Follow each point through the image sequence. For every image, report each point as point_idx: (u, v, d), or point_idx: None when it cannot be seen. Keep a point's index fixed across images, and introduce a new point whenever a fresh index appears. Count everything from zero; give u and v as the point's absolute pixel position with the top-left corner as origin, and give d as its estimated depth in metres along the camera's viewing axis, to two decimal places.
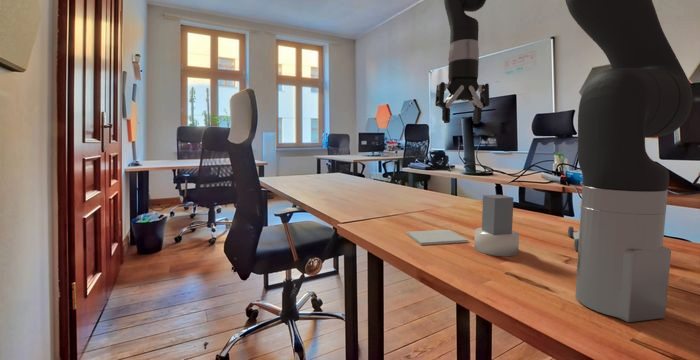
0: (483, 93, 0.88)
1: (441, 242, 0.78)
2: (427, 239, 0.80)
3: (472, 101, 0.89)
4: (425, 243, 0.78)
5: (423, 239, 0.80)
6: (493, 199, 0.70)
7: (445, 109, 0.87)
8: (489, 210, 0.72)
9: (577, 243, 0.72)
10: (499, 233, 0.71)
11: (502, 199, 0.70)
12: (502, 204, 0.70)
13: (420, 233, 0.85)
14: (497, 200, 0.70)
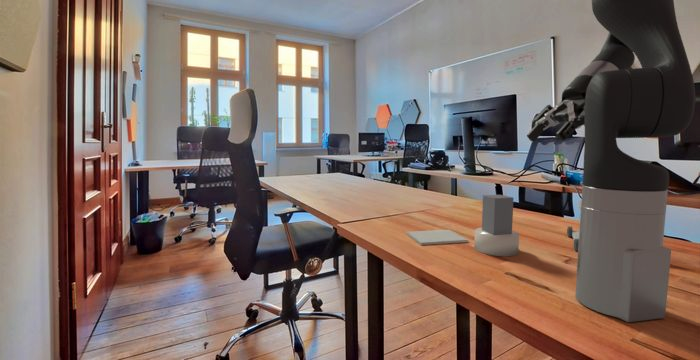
0: None
1: (441, 242, 0.78)
2: (427, 239, 0.80)
3: None
4: (425, 243, 0.78)
5: (423, 239, 0.80)
6: (493, 199, 0.70)
7: (535, 126, 0.78)
8: (489, 210, 0.72)
9: (577, 243, 0.72)
10: (499, 233, 0.71)
11: (502, 199, 0.70)
12: (502, 204, 0.70)
13: (420, 233, 0.85)
14: (497, 200, 0.70)
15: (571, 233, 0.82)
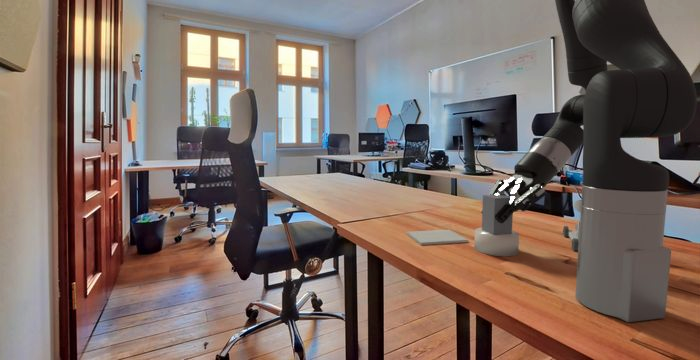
0: None
1: (441, 242, 0.78)
2: (427, 239, 0.80)
3: None
4: (425, 243, 0.78)
5: (423, 239, 0.80)
6: (493, 199, 0.70)
7: None
8: (489, 210, 0.72)
9: (575, 243, 0.72)
10: (499, 233, 0.71)
11: (502, 199, 0.70)
12: (502, 204, 0.70)
13: (420, 233, 0.85)
14: (497, 200, 0.70)
15: (567, 233, 0.83)
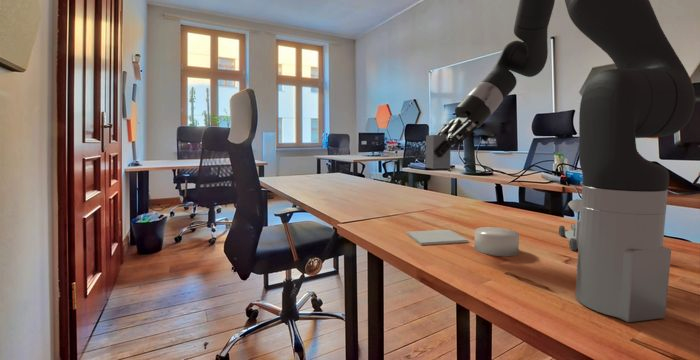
0: None
1: (441, 242, 0.78)
2: (427, 239, 0.80)
3: None
4: (425, 243, 0.78)
5: (423, 239, 0.80)
6: (432, 136, 0.79)
7: None
8: (430, 147, 0.80)
9: (573, 242, 0.72)
10: (438, 167, 0.79)
11: (440, 136, 0.79)
12: (440, 141, 0.79)
13: (420, 233, 0.85)
14: (436, 137, 0.78)
15: (564, 232, 0.83)
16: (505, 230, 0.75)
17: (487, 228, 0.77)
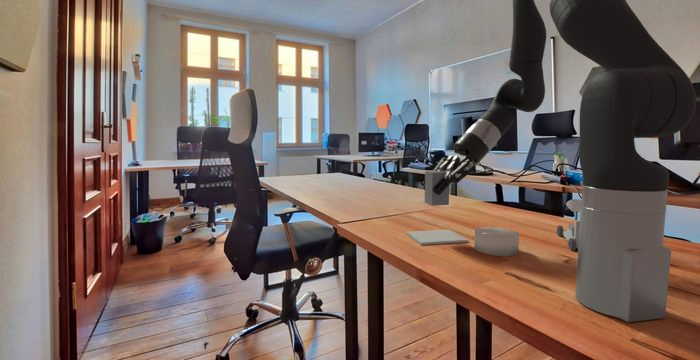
0: None
1: (441, 242, 0.78)
2: (427, 239, 0.80)
3: None
4: (425, 243, 0.78)
5: (423, 239, 0.80)
6: (431, 174, 0.80)
7: None
8: (429, 183, 0.81)
9: (572, 242, 0.72)
10: (437, 204, 0.80)
11: (439, 173, 0.80)
12: (439, 178, 0.80)
13: (420, 233, 0.85)
14: (434, 174, 0.79)
15: (562, 232, 0.83)
16: (505, 230, 0.75)
17: (487, 228, 0.77)
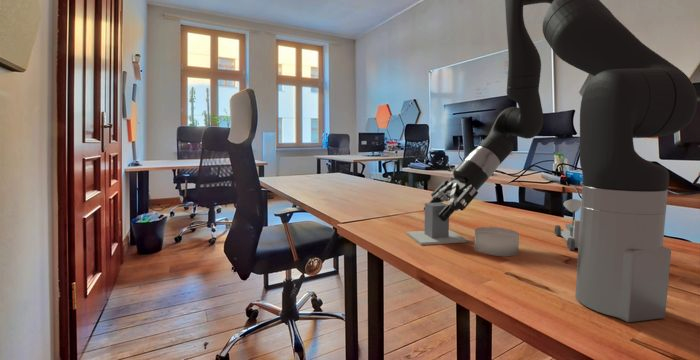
0: None
1: (441, 242, 0.78)
2: (427, 239, 0.80)
3: None
4: (425, 243, 0.78)
5: (423, 239, 0.80)
6: (431, 207, 0.80)
7: (432, 200, 0.88)
8: (429, 216, 0.82)
9: (571, 242, 0.72)
10: (437, 236, 0.81)
11: (439, 207, 0.80)
12: (439, 211, 0.80)
13: (420, 233, 0.85)
14: (435, 208, 0.80)
15: (560, 232, 0.84)
16: (505, 230, 0.75)
17: (487, 228, 0.77)
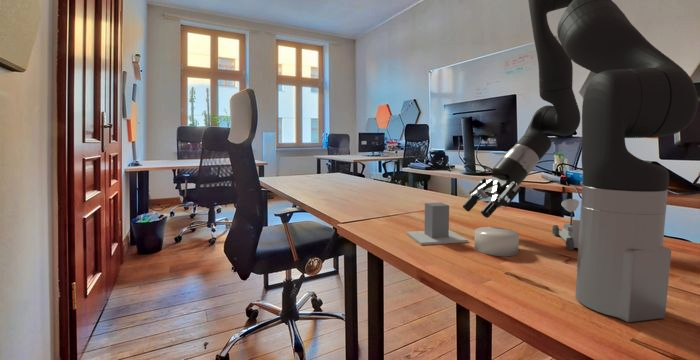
0: None
1: (441, 242, 0.78)
2: (427, 239, 0.80)
3: None
4: (425, 243, 0.78)
5: (423, 239, 0.80)
6: (431, 207, 0.80)
7: None
8: (429, 216, 0.82)
9: (570, 242, 0.72)
10: (437, 236, 0.81)
11: (439, 207, 0.80)
12: (439, 211, 0.80)
13: (420, 233, 0.85)
14: (435, 208, 0.80)
15: (558, 231, 0.84)
16: (505, 230, 0.75)
17: (487, 228, 0.77)
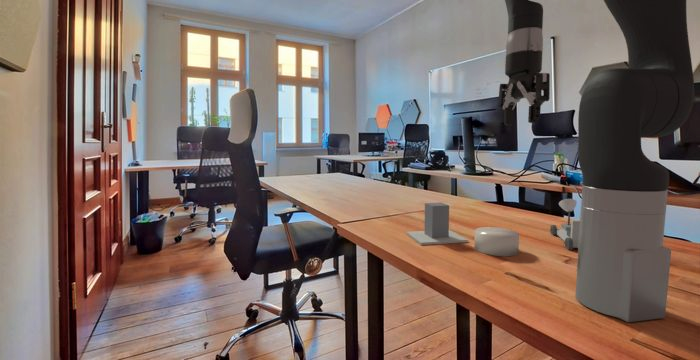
0: None
1: (441, 242, 0.78)
2: (427, 239, 0.80)
3: None
4: (425, 243, 0.78)
5: (423, 239, 0.80)
6: (431, 207, 0.80)
7: None
8: (429, 216, 0.82)
9: (569, 242, 0.73)
10: (437, 236, 0.81)
11: (439, 207, 0.80)
12: (439, 211, 0.80)
13: (420, 233, 0.85)
14: (435, 208, 0.80)
15: (556, 231, 0.84)
16: (505, 230, 0.75)
17: (487, 228, 0.77)
